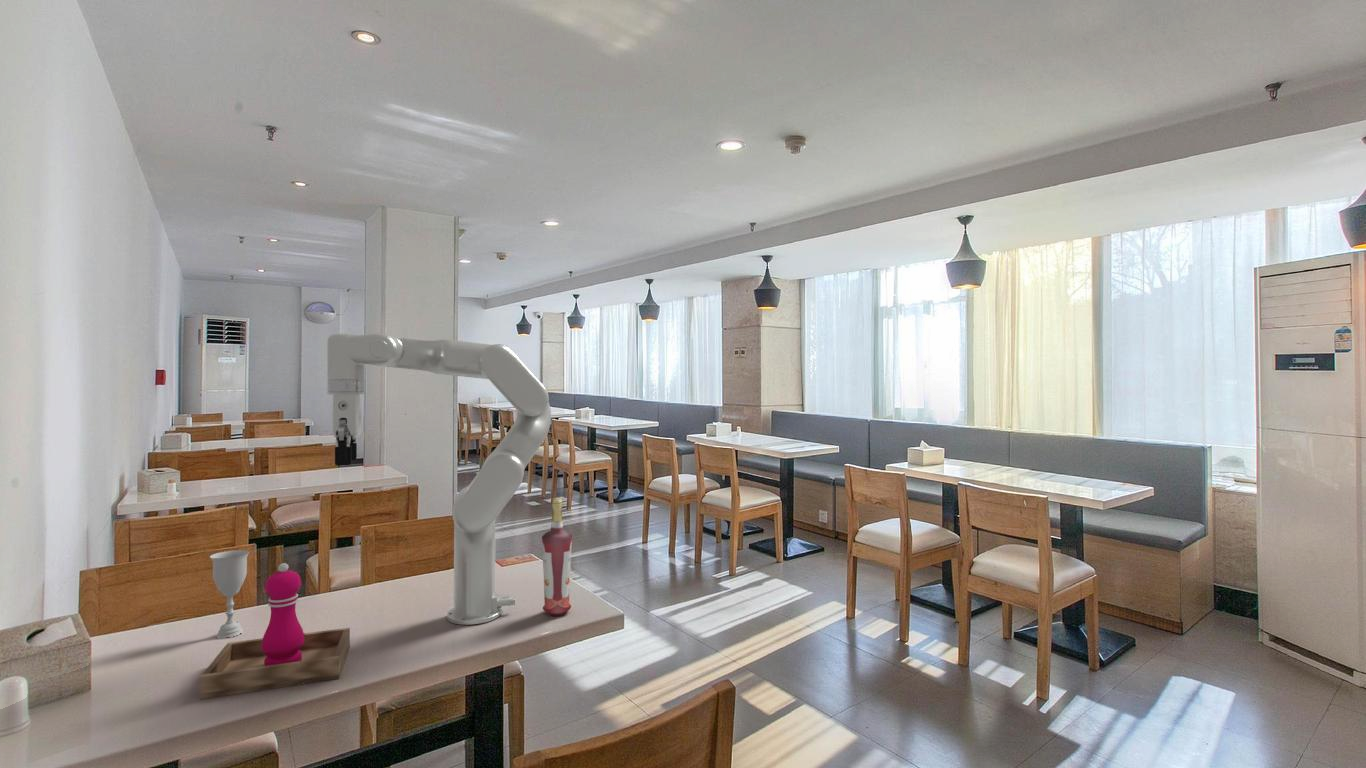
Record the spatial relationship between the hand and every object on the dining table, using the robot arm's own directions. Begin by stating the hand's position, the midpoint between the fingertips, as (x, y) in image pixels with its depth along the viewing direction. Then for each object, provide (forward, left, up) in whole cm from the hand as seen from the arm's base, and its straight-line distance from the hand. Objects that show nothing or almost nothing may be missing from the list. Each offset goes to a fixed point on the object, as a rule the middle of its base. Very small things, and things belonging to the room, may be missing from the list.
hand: (346, 462), depth 146 cm
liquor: (-47, +7, -38) cm, 61 cm away
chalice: (+24, -6, -38) cm, 46 cm away
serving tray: (+9, +19, -38) cm, 44 cm away
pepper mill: (+9, +19, -38) cm, 43 cm away
